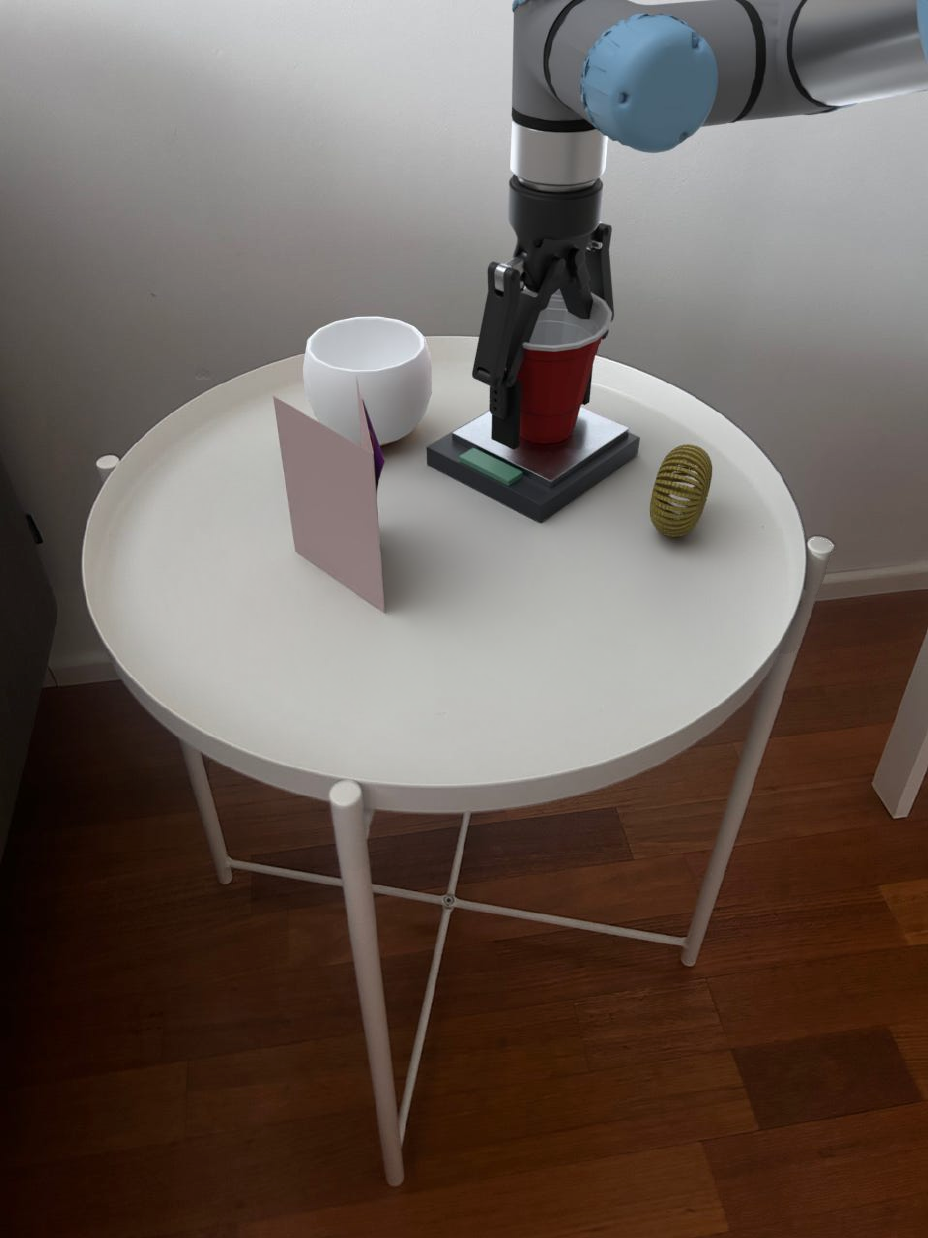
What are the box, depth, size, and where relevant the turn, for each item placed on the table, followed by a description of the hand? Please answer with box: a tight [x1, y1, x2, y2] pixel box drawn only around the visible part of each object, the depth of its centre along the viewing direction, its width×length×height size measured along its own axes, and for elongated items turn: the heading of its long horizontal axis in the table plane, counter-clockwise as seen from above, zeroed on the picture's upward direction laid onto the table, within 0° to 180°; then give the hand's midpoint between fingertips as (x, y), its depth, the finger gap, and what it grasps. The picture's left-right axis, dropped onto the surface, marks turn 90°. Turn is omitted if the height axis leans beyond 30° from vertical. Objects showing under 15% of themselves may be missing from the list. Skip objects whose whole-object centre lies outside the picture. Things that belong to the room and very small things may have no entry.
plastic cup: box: [505, 286, 612, 444], centre depth 92 cm, size 11×11×12 cm
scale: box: [426, 406, 641, 524], centre depth 96 cm, size 14×15×3 cm
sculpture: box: [649, 443, 713, 538], centre depth 86 cm, size 8×4×8 cm, turn 155°
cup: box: [302, 316, 433, 447], centre depth 98 cm, size 12×12×10 cm
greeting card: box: [272, 375, 386, 614], centre depth 79 cm, size 11×7×15 cm, turn 11°
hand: (541, 420), depth 95 cm, fingers open, 10 cm apart
